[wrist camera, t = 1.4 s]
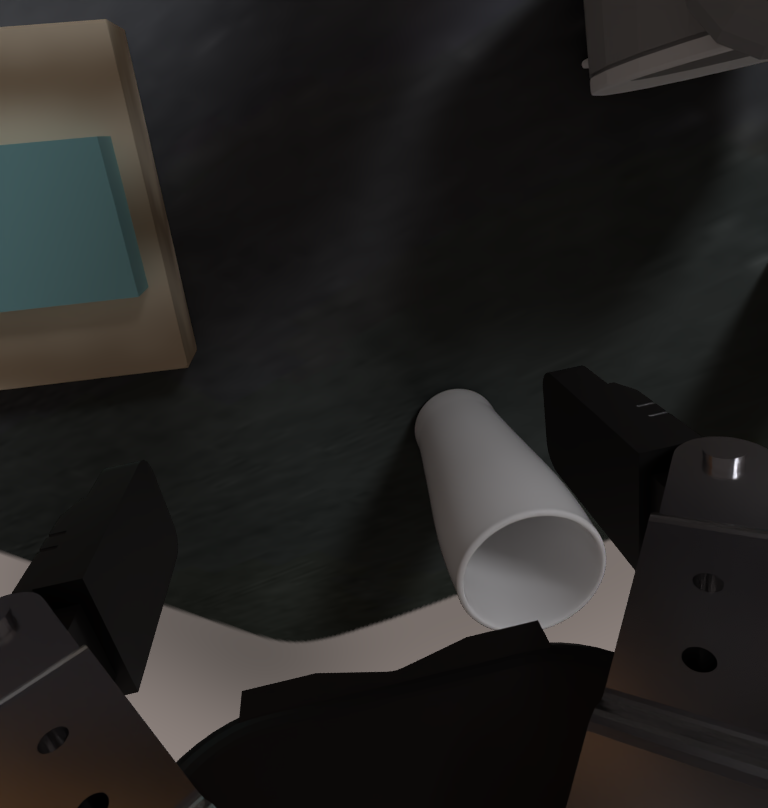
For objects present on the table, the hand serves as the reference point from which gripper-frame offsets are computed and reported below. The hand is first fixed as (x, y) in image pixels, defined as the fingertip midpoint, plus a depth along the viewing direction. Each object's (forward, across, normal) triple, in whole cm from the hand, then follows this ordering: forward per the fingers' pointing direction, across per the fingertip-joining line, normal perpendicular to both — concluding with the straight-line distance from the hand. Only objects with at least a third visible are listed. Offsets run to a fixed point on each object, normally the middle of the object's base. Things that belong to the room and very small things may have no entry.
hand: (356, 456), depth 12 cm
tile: (+21, +13, -5) cm, 25 cm away
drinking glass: (+24, -6, +12) cm, 28 cm away
